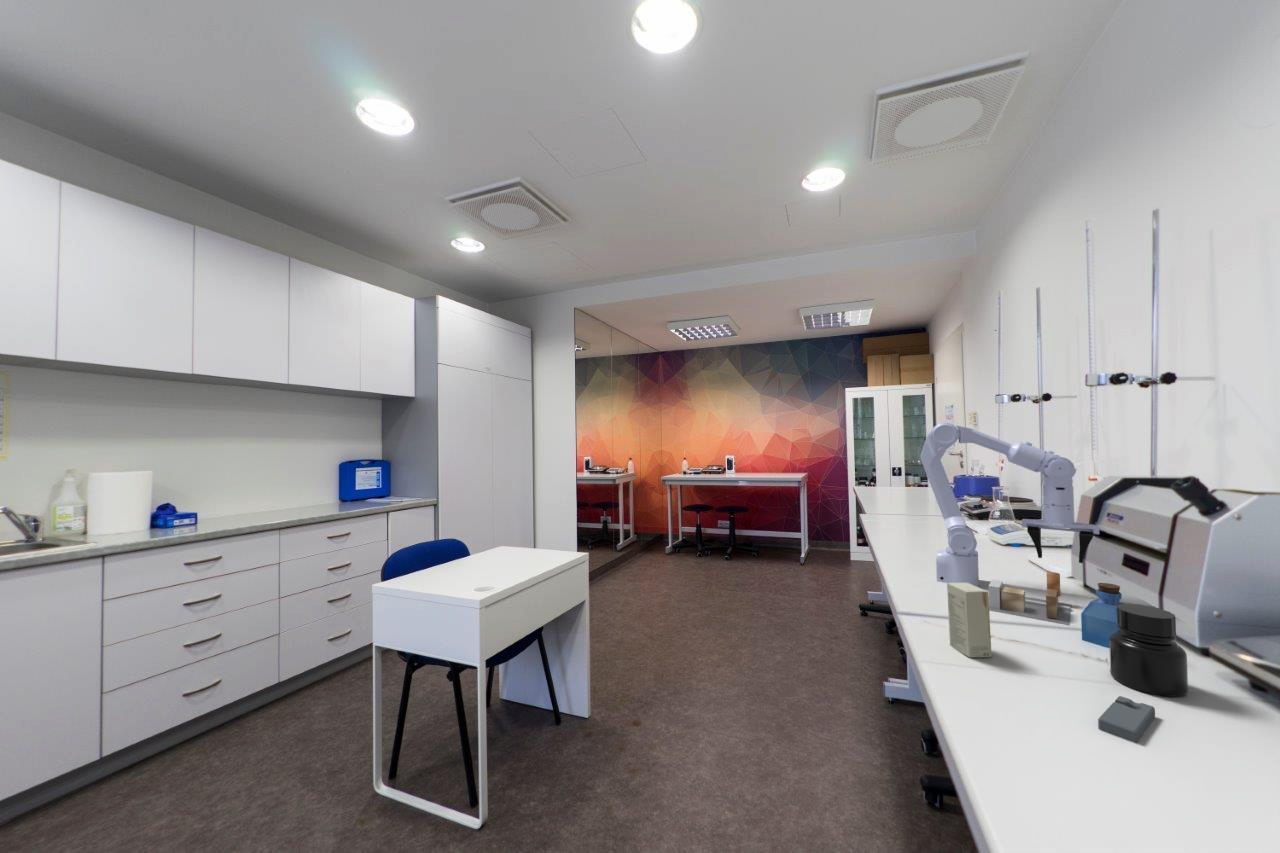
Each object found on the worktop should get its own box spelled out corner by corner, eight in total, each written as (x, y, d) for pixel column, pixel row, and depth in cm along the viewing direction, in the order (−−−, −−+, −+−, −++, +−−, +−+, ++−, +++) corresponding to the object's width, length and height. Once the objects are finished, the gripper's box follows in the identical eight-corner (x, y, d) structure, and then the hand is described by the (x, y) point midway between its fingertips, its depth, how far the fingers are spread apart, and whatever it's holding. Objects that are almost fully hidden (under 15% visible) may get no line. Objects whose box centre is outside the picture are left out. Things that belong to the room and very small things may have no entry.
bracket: (1097, 732, 69) (1097, 717, 69) (1118, 707, 75) (1118, 694, 75) (1136, 747, 66) (1136, 732, 66) (1155, 720, 72) (1155, 706, 72)
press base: (987, 614, 112) (987, 587, 112) (997, 596, 124) (996, 572, 124) (1069, 630, 102) (1068, 601, 102) (1071, 608, 114) (1070, 582, 114)
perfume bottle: (1082, 645, 95) (1080, 583, 95) (1098, 639, 98) (1096, 578, 98) (1124, 658, 90) (1121, 592, 90) (1140, 651, 92) (1138, 587, 92)
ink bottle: (1154, 671, 85) (1152, 601, 85) (1208, 699, 76) (1206, 621, 76) (1093, 670, 86) (1091, 601, 86) (1139, 697, 77) (1137, 620, 77)
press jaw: (1044, 616, 107) (1043, 584, 107) (1047, 600, 116) (1046, 571, 116) (1058, 619, 105) (1057, 587, 105) (1060, 602, 115) (1060, 573, 115)
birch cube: (1001, 608, 112) (1001, 591, 112) (1003, 603, 115) (1003, 586, 115) (1023, 612, 110) (1023, 594, 110) (1025, 607, 113) (1024, 590, 113)
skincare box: (992, 658, 91) (990, 592, 91) (968, 658, 91) (967, 592, 91) (970, 643, 97) (968, 581, 97) (947, 643, 97) (946, 581, 97)
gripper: (1020, 504, 124) (1021, 558, 123) (1098, 509, 114) (1100, 568, 114) (1022, 500, 129) (1024, 552, 129) (1098, 505, 119) (1100, 561, 119)
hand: (1060, 559), depth 122 cm, fingers open, 7 cm apart
